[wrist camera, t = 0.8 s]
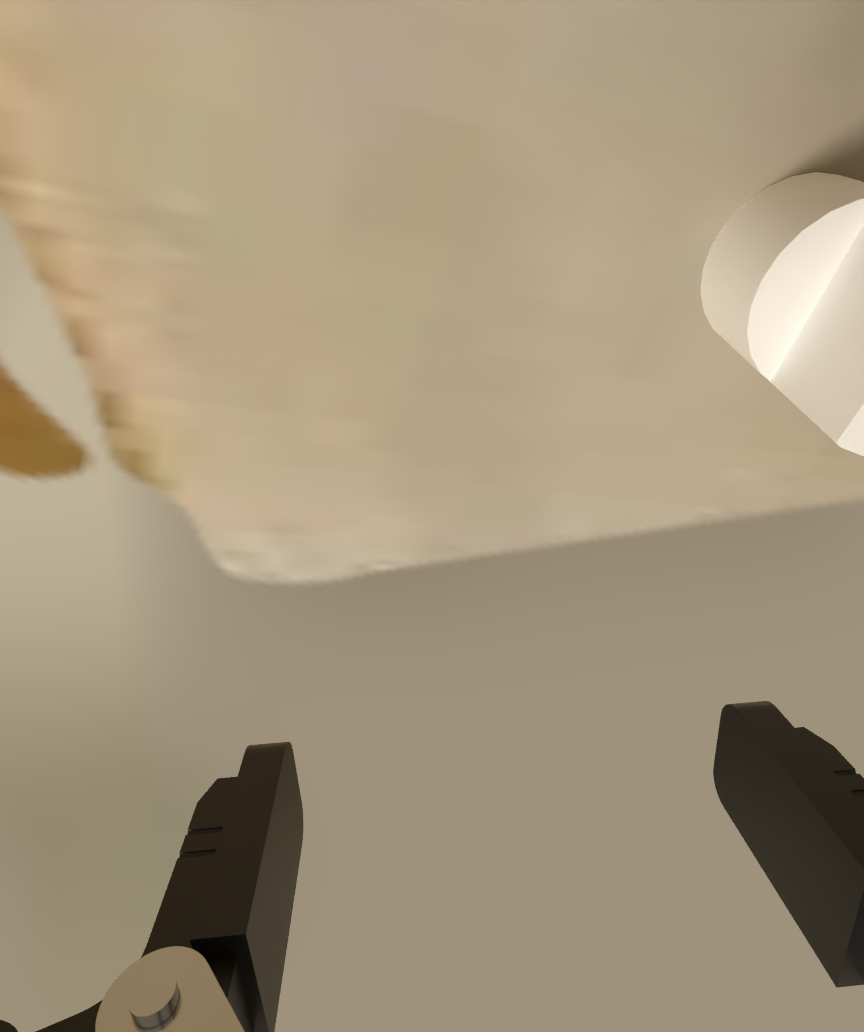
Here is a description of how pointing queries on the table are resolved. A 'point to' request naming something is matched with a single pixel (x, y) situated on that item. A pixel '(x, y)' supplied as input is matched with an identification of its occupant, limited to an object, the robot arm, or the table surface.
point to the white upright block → (797, 295)
